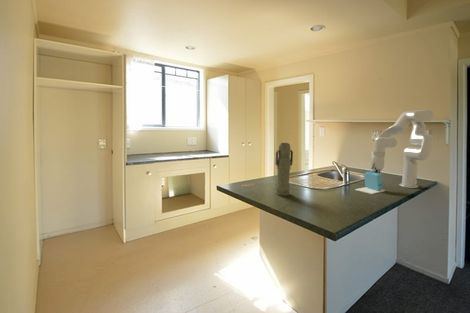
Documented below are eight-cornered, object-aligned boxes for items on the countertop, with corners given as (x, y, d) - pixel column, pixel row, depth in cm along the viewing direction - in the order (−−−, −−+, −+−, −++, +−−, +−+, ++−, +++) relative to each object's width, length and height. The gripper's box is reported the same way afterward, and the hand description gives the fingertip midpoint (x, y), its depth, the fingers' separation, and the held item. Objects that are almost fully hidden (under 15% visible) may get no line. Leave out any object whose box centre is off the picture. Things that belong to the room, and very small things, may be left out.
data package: (383, 189, 196) (382, 173, 194) (378, 191, 195) (377, 175, 192) (369, 185, 207) (368, 170, 205) (365, 187, 206) (364, 172, 204)
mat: (368, 187, 209) (368, 186, 209) (385, 191, 198) (385, 190, 198) (354, 190, 199) (354, 189, 199) (371, 194, 188) (371, 193, 188)
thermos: (271, 193, 186) (273, 142, 182) (286, 191, 190) (288, 142, 186) (278, 196, 178) (280, 143, 173) (293, 195, 182) (296, 143, 178)
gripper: (379, 153, 207) (377, 176, 209) (368, 154, 198) (366, 178, 201) (389, 154, 200) (387, 178, 203) (378, 155, 192) (376, 180, 195)
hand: (376, 178), depth 202 cm, fingers closed
